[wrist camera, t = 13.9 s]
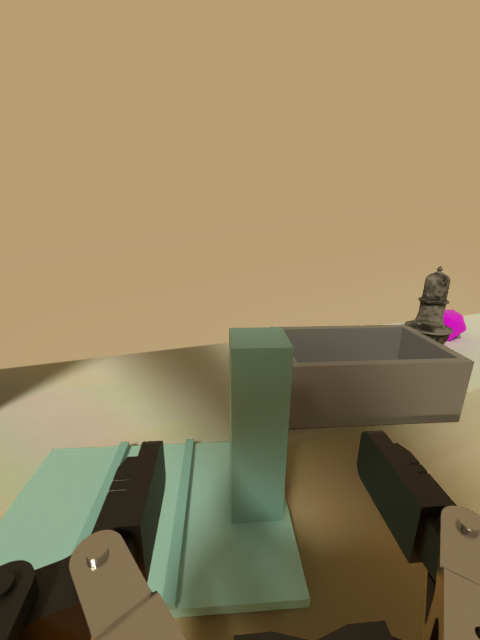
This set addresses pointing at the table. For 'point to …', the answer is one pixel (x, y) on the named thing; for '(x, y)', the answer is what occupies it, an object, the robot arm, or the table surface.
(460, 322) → the magenta icosahedron
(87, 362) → the table surface
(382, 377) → the tub
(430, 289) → the grey chess bishop
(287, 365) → the lid
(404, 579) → the table surface
